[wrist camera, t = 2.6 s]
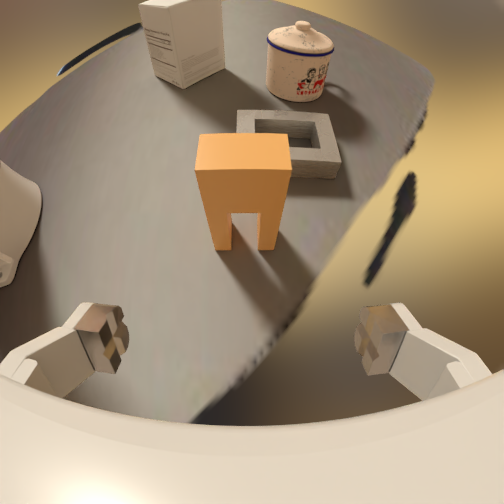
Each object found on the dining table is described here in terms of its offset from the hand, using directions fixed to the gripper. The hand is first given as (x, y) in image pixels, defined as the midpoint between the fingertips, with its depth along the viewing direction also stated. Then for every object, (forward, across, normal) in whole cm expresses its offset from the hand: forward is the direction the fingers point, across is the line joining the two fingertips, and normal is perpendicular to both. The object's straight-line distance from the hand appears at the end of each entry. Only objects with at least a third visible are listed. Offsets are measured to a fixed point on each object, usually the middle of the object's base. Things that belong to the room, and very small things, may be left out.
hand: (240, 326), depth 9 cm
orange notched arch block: (+18, 0, +4) cm, 19 cm away
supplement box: (+40, +10, -18) cm, 45 cm away
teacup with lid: (+37, -8, -15) cm, 41 cm away
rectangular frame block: (+26, -4, -4) cm, 27 cm away
